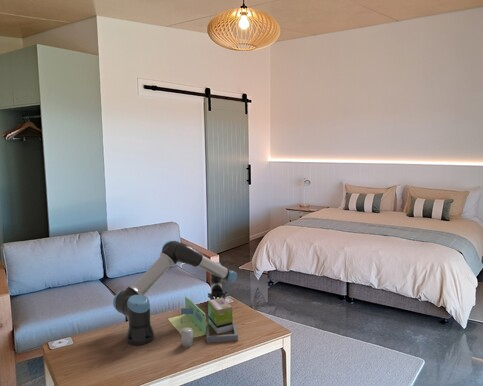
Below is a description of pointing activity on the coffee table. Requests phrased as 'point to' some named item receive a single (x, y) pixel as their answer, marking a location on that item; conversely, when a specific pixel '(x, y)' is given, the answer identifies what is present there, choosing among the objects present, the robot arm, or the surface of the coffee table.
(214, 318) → the tea box
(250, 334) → the coffee table surface
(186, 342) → the grey rounded cylinder
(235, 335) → the frame
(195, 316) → the display stand
